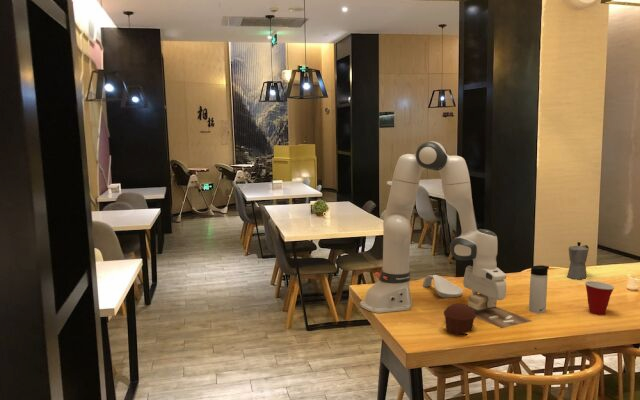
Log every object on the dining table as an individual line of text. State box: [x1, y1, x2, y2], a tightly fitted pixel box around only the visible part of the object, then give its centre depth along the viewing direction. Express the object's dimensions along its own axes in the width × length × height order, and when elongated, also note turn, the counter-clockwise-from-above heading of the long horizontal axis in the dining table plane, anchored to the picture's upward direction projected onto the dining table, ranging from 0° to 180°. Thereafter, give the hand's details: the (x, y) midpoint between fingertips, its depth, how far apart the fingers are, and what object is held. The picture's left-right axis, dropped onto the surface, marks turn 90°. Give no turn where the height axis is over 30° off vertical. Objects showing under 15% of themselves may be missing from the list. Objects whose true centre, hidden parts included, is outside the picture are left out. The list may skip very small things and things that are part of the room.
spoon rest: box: [422, 274, 464, 299], centre depth 242 cm, size 24×12×7 cm, turn 23°
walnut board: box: [472, 306, 533, 329], centre depth 208 cm, size 16×20×2 cm
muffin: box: [443, 303, 476, 337], centre depth 196 cm, size 12×11×10 cm
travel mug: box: [528, 264, 550, 314], centre depth 213 cm, size 6×7×20 cm
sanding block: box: [467, 293, 498, 311], centre depth 213 cm, size 10×5×5 cm, turn 117°
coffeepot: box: [567, 241, 589, 281], centre depth 266 cm, size 15×9×18 cm, turn 126°
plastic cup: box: [584, 280, 616, 316], centre depth 215 cm, size 11×11×12 cm
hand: (482, 304), depth 213 cm, fingers closed on sanding block, 5 cm apart
